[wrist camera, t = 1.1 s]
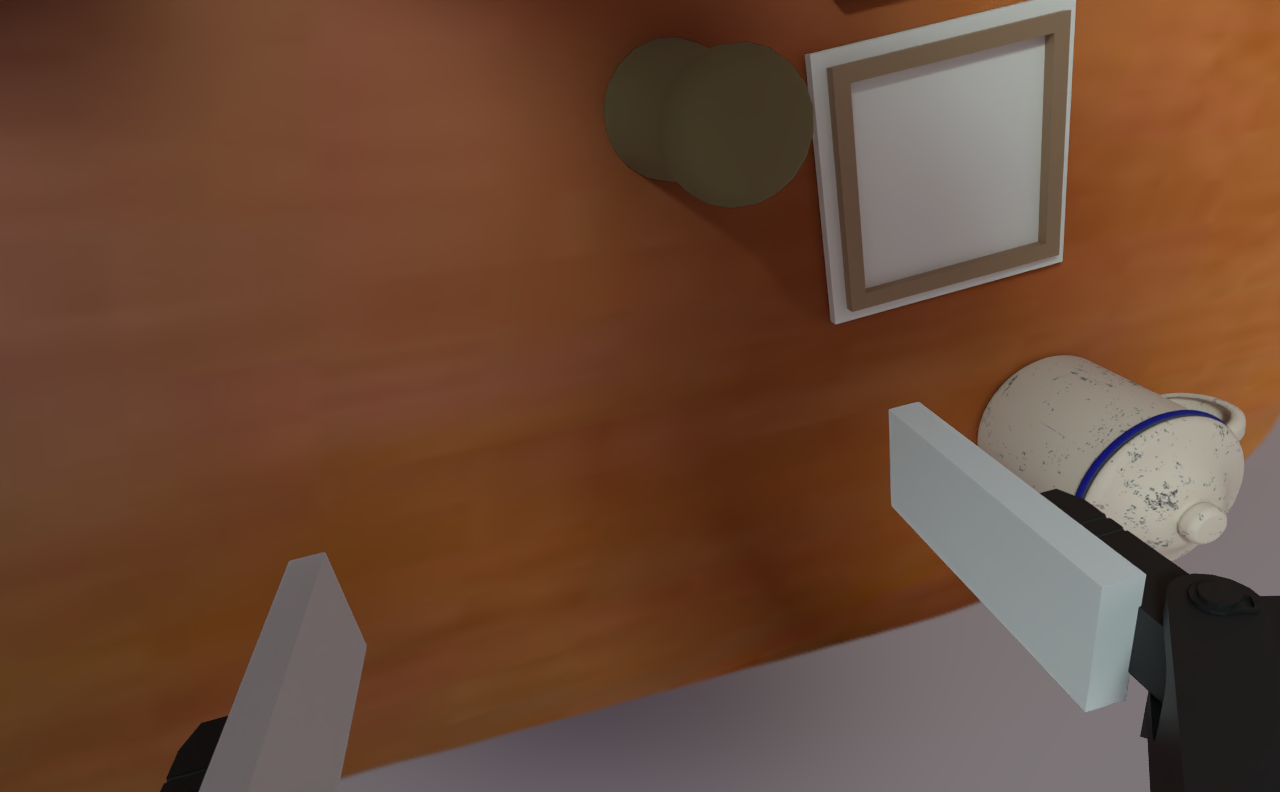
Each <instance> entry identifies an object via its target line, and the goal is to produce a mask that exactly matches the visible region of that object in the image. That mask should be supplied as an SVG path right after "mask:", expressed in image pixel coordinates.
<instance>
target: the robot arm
mask: <svg viewBox="0 0 1280 792" xmlns="http://www.w3.org/2000/svg"><path fill="white" fill-rule="evenodd" d="M889 441H890V480H891V506H892V507H893V508H894V509H895V510H896V511H897V512H898V513H899V514H900V516H901V517H902V518H903V519H904V520H905V521H906V522H907V523H908V524H909V525H910V526H911V527H912V528H913V529H914V530H915V532H916V533H917V534H918V535H919V536H920V537H921V538H922V539H923V540H924V541H925V542H926V543H927V544H928V545H929V546H930V547H931V549H932V550H933V551H934V552H935V553H936V554H937V555H938V556H939V557H940V558H941V559H942V560H943V561H944V562H945V563H946V565H947V566H948V567H949V568H950V569H951V570H952V571H953V572H954V573H955V574H956V575H957V576H958V577H959V578H960V579H961V581H962V582H963V583H964V584H965V585H966V586H967V587H968V588H969V589H970V590H971V591H972V592H973V593H974V594H975V595H976V597H977V598H978V599H979V600H980V601H981V602H982V603H983V604H984V605H985V606H986V607H987V608H988V609H989V610H990V611H991V612H992V614H993V615H994V616H995V617H996V618H997V619H998V620H999V621H1000V622H1001V623H1002V624H1003V625H1004V626H1005V627H1006V628H1007V629H1008V631H1009V632H1010V633H1012V635H1013V636H1014V637H1015V638H1016V639H1017V640H1018V641H1019V642H1020V643H1021V644H1022V646H1023V647H1024V648H1025V649H1026V650H1027V651H1028V652H1029V653H1030V654H1031V655H1032V656H1033V657H1034V658H1035V659H1036V660H1037V662H1038V663H1039V664H1040V665H1041V666H1042V667H1043V668H1044V669H1045V670H1046V671H1047V672H1048V673H1049V674H1050V675H1051V676H1052V678H1053V679H1054V680H1055V681H1056V682H1057V683H1058V684H1059V685H1060V686H1061V687H1062V688H1063V689H1064V690H1065V691H1066V692H1067V693H1068V694H1069V696H1070V697H1071V698H1073V700H1074V701H1075V702H1076V703H1077V704H1078V705H1079V706H1080V707H1081V708H1082V709H1083V711H1084V712H1089V711H1092V710H1095V709H1098V708H1101V707H1105V706H1108V705H1111V704H1115V703H1118V702H1121V701H1125V700H1126V695H1127V689H1128V683H1129V677H1130V674H1131V675H1132V676H1133V677H1134V678H1135V679H1136V680H1137V681H1138V682H1139V683H1140V684H1142V685H1143V686H1144V687H1145V688H1146V689H1147V690H1148V697H1147V702H1146V708H1145V713H1144V719H1143V725H1142V730H1141V737H1144V738H1147V739H1148V755H1149V773H1150V792H1280V596H1259V595H1258V594H1256V593H1255V592H1254V591H1253V590H1251V589H1250V588H1248V587H1246V586H1244V585H1242V584H1240V583H1238V582H1236V581H1233V580H1231V579H1227V578H1223V577H1219V576H1215V575H1209V574H1188V573H1187V572H1185V571H1184V570H1183V569H1181V568H1180V567H1178V566H1177V565H1176V564H1174V563H1172V562H1171V561H1170V560H1169V559H1167V558H1166V557H1164V556H1163V555H1162V554H1160V553H1159V552H1157V551H1156V550H1155V549H1153V548H1152V547H1150V546H1149V545H1148V544H1146V543H1145V542H1143V541H1142V540H1141V539H1139V538H1138V537H1136V536H1135V535H1134V534H1132V533H1131V532H1129V531H1128V530H1126V531H1125V530H1124V529H1123V527H1122V526H1121V525H1120V524H1118V523H1117V522H1115V521H1114V520H1113V519H1111V518H1107V517H1106V514H1104V513H1103V512H1101V511H1100V510H1099V509H1097V508H1096V507H1094V506H1093V505H1092V504H1090V503H1089V502H1087V501H1086V500H1085V499H1082V498H1079V497H1077V496H1074V495H1072V494H1069V493H1067V492H1064V491H1061V490H1059V489H1053V490H1049V491H1045V492H1042V493H1038V492H1037V491H1036V490H1034V489H1033V488H1032V487H1030V486H1029V485H1028V484H1027V483H1025V482H1024V481H1023V480H1021V479H1020V478H1019V477H1017V476H1016V475H1015V474H1013V473H1012V472H1011V471H1009V470H1008V469H1007V468H1006V467H1004V466H1003V465H1002V464H1000V463H999V462H998V461H996V460H995V459H994V458H992V457H991V456H990V455H988V454H987V453H986V452H984V451H983V450H982V449H981V448H979V447H978V446H977V445H975V444H974V443H973V442H971V441H970V440H969V439H967V438H966V437H965V436H963V435H962V434H961V433H959V432H958V431H957V430H956V429H954V428H953V427H952V426H950V425H949V424H948V423H946V422H945V421H944V420H942V419H941V418H940V417H938V416H937V415H936V414H934V413H933V412H932V411H931V410H929V409H928V408H927V407H925V406H924V405H923V404H921V403H920V402H915V403H911V404H907V405H903V406H899V407H896V408H892V409H889ZM366 647H367V646H366V643H365V641H364V639H363V637H362V634H361V632H360V630H359V628H358V625H357V623H356V621H355V618H354V616H353V614H352V612H351V609H350V607H349V605H348V603H347V600H346V598H345V596H344V594H343V591H342V589H341V587H340V585H339V582H338V580H337V578H336V576H335V573H334V571H333V569H332V567H331V564H330V562H329V560H328V558H327V555H326V553H325V552H323V553H319V554H315V555H311V556H307V557H303V558H299V559H295V560H291V561H289V563H288V565H287V568H286V570H285V573H284V575H283V578H282V580H281V583H280V585H279V588H278V591H277V593H276V596H275V598H274V601H273V603H272V606H271V608H270V611H269V614H268V616H267V619H266V621H265V624H264V626H263V629H262V631H261V634H260V637H259V639H258V642H257V644H256V647H255V649H254V652H253V654H252V657H251V659H250V662H249V665H248V667H247V670H246V672H245V675H244V677H243V680H242V682H241V685H240V688H239V690H238V693H237V695H236V698H235V700H234V703H233V705H232V708H231V711H230V713H229V716H226V717H222V718H218V719H215V720H211V721H207V722H204V723H201V724H200V725H199V727H198V728H197V729H196V730H195V731H194V733H193V734H192V735H191V736H190V737H189V739H188V740H187V741H186V742H185V743H184V745H183V746H182V747H181V748H180V749H179V751H178V753H177V755H176V758H175V760H174V762H173V764H172V767H171V769H170V771H169V773H168V776H167V783H164V785H163V787H162V789H161V791H160V792H338V787H339V782H340V777H341V772H342V767H343V762H344V757H345V752H346V747H347V742H348V737H349V732H350V727H351V722H352V717H353V712H354V707H355V702H356V697H357V692H358V687H359V682H360V677H361V672H362V667H363V662H364V657H365V652H366Z"/></svg>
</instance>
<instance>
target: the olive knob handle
mask: <svg viewBox="0 0 1280 792" xmlns="http://www.w3.org/2000/svg"><path fill="white" fill-rule="evenodd" d="M604 117H605V125H606V132H607V134H608V137H609V139H610V141H611V144H612V146H613V148H614V150H615V152H616V153H617V154H618V156H619V157H620V158H621V159H622V160H623V161H624V162H625V164H626V165H627V166H628V167H629V168H631V169H632V170H634V171H636V172H638V173H639V174H641V175H643V176H644V177H646V178H651V179H656V180H661V181H666V182H678V183H679V185H680V186H681V187H682V188H683V189H684V190H685V191H686V192H688V193H690V194H691V195H693V196H695V197H696V198H698V199H700V200H702V201H703V202H705V203H707V204H710V205H715V206H721V207H726V208H734V207H741V206H748V205H754V204H757V203H759V202H761V201H763V200H765V199H767V198H769V197H771V196H773V195H775V194H777V193H778V192H779V191H780V190H781V189H783V188H784V187H785V186H786V185H787V184H788V183H789V182H790V181H791V180H792V179H793V178H794V177H795V175H796V174H797V172H798V170H799V169H800V167H801V165H802V164H803V162H804V160H805V159H806V157H807V154H808V150H809V147H810V143H811V140H812V136H813V105H812V101H811V98H810V95H809V92H808V88H807V85H806V83H805V82H804V80H803V79H802V77H801V76H800V75H799V73H798V72H797V70H796V69H795V67H794V66H793V65H792V64H791V63H790V62H789V61H788V60H786V59H785V58H783V57H782V56H781V55H779V54H778V53H776V52H775V51H773V50H772V49H771V48H769V47H765V46H761V45H757V44H754V43H750V42H737V43H729V44H721V45H715V46H713V47H711V48H707V47H705V46H703V45H701V44H699V43H697V42H694V41H690V40H686V39H682V38H678V37H669V38H660V39H653V40H651V41H649V42H647V43H645V44H643V45H641V46H639V47H637V48H635V49H634V50H633V51H632V52H631V53H630V54H629V55H628V56H627V57H626V58H625V59H624V60H623V61H622V62H621V63H620V64H619V65H618V66H617V68H616V70H615V72H614V74H613V76H612V78H611V80H610V82H609V84H608V86H607V92H606V98H605V104H604Z"/></svg>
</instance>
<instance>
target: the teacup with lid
mask: <svg viewBox="0 0 1280 792" xmlns="http://www.w3.org/2000/svg"><path fill="white" fill-rule="evenodd" d="M1245 430H1246V418H1245V415H1244V414H1243V412H1242V411H1241V410H1240V409H1239V408H1237V407H1236V406H1234V405H1233V404H1231V403H1229V402H1226V401H1224V400H1221V399H1218V398H1215V397H1211V396H1206V395H1201V394H1193V393H1167V394H1161V395H1159V394H1157V393H1155V392H1153V391H1151V390H1148V389H1146V388H1144V387H1142V386H1140V385H1138V384H1136V383H1134V382H1132V381H1130V380H1128V379H1126V378H1124V377H1122V376H1120V375H1118V374H1116V373H1114V372H1112V371H1110V370H1107V369H1105V368H1103V367H1101V366H1099V365H1097V364H1095V363H1093V362H1091V361H1089V360H1087V359H1084V358H1081V357H1077V356H1071V355H1059V356H1052V357H1047V358H1044V359H1041V360H1038V361H1036V362H1033V363H1031V364H1029V365H1027V366H1026V367H1024V368H1022V369H1021V370H1019V371H1018V372H1016V373H1015V374H1014V375H1012V376H1011V377H1010V378H1009V379H1008V380H1007V381H1005V382H1004V383H1003V384H1002V386H1001V387H1000V388H999V389H998V390H997V391H996V393H995V394H994V395H993V397H992V398H991V400H990V401H989V403H988V405H987V407H986V408H985V410H984V413H983V415H982V418H981V421H980V425H979V429H978V437H977V444H978V447H979V448H981V449H982V450H983V451H984V452H986V453H987V454H988V455H990V456H991V457H992V458H994V459H995V460H996V461H998V462H999V463H1000V464H1002V465H1003V466H1004V467H1006V468H1007V469H1008V470H1009V471H1011V472H1012V473H1013V474H1015V475H1016V476H1017V477H1019V478H1020V479H1021V480H1023V481H1024V482H1025V483H1027V484H1028V485H1029V486H1030V487H1032V488H1033V489H1034V490H1036V491H1037V492H1038V493H1042V492H1045V491H1049V490H1053V489H1059V490H1061V491H1064V492H1067V493H1069V494H1072V495H1074V496H1077V497H1079V498H1082V499H1085V500H1086V501H1087V502H1089V503H1090V504H1092V505H1093V506H1094V507H1096V508H1097V509H1099V510H1100V511H1101V512H1103V513H1104V514H1106V517H1107V518H1111V519H1113V520H1114V521H1115V522H1117V523H1118V524H1120V525H1121V526H1122V527H1123V529H1124V530H1125V531H1126V530H1128V531H1129V532H1131V533H1132V534H1134V535H1135V536H1136V537H1138V538H1139V539H1141V540H1142V541H1143V542H1145V543H1146V544H1148V545H1149V546H1150V547H1152V548H1153V549H1155V550H1156V551H1157V552H1159V553H1160V554H1162V555H1163V556H1164V557H1166V558H1167V559H1169V560H1170V561H1173V560H1176V559H1177V558H1179V557H1181V556H1183V555H1184V554H1186V553H1188V552H1189V551H1191V550H1192V549H1193V548H1195V547H1196V546H1197V545H1199V544H1206V543H1210V542H1212V541H1214V540H1215V539H1217V538H1218V537H1219V536H1220V535H1221V534H1222V533H1223V532H1224V530H1225V528H1226V526H1227V517H1226V515H1227V513H1228V512H1229V510H1230V508H1231V507H1232V505H1233V503H1234V501H1235V499H1236V497H1237V495H1238V492H1239V489H1240V486H1241V483H1242V479H1243V474H1244V457H1243V451H1242V448H1241V445H1240V443H1239V441H1240V440H1241V439H1242V438H1243V436H1244V434H1245Z"/></svg>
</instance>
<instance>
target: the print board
mask: <svg viewBox="0 0 1280 792" xmlns="http://www.w3.org/2000/svg"><path fill="white" fill-rule="evenodd" d="M1075 10H1076V0H1029V1H1025V2H1021V3H1017V4H1013V5H1009V6H1005V7H1000V8H996V9H992V10H988V11H984V12H980V13H976V14H971V15H967V16H963V17H959V18H955V19H951V20H947V21H942V22H938V23H934V24H930V25H926V26H922V27H918V28H913V29H909V30H905V31H901V32H897V33H893V34H889V35H884V36H880V37H876V38H872V39H868V40H864V41H860V42H855V43H851V44H847V45H843V46H839V47H835V48H831V49H826V50H822V51H818V52H814V53H810V54H806V55H805V63H806V74H807V84H808V92H809V95H810V98H811V101H812V105H813V146H814V156H815V166H816V176H817V187H818V197H819V207H820V217H821V228H822V238H823V248H824V258H825V269H826V279H827V289H828V300H829V310H830V320H831V322H833V323H834V324H835V325H836V324H839V323H843V322H847V321H850V320H854V319H857V318H861V317H865V316H868V315H872V314H875V313H879V312H883V311H886V310H890V309H893V308H897V307H901V306H904V305H908V304H911V303H915V302H919V301H922V300H926V299H929V298H933V297H937V296H940V295H944V294H947V293H951V292H955V291H958V290H962V289H965V288H969V287H973V286H976V285H980V284H983V283H987V282H991V281H994V280H998V279H1001V278H1005V277H1009V276H1012V275H1016V274H1019V273H1023V272H1027V271H1030V270H1034V269H1037V268H1041V267H1045V266H1048V265H1052V264H1055V263H1059V262H1063V243H1064V224H1065V204H1066V185H1067V165H1068V146H1069V126H1070V107H1071V88H1072V68H1073V49H1074V29H1075Z"/></svg>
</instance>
